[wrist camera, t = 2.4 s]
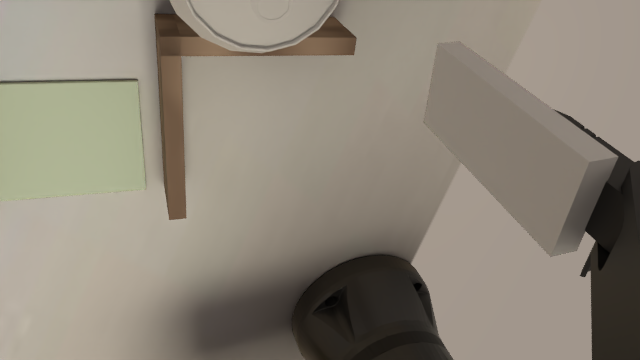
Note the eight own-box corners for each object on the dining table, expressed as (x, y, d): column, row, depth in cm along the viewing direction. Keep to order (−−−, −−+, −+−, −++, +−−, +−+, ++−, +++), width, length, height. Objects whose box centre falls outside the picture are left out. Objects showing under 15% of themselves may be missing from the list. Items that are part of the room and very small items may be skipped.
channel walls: (363, -221, 31) (395, -224, 28) (314, 173, 46) (331, 203, 43) (-204, -319, 23) (-260, -342, 19) (-41, 202, 38) (-56, 242, 34)
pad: (137, 79, 37) (137, 81, 37) (145, 187, 42) (146, 189, 42) (-29, 83, 34) (-30, 85, 34) (1, 199, 39) (0, 201, 38)
